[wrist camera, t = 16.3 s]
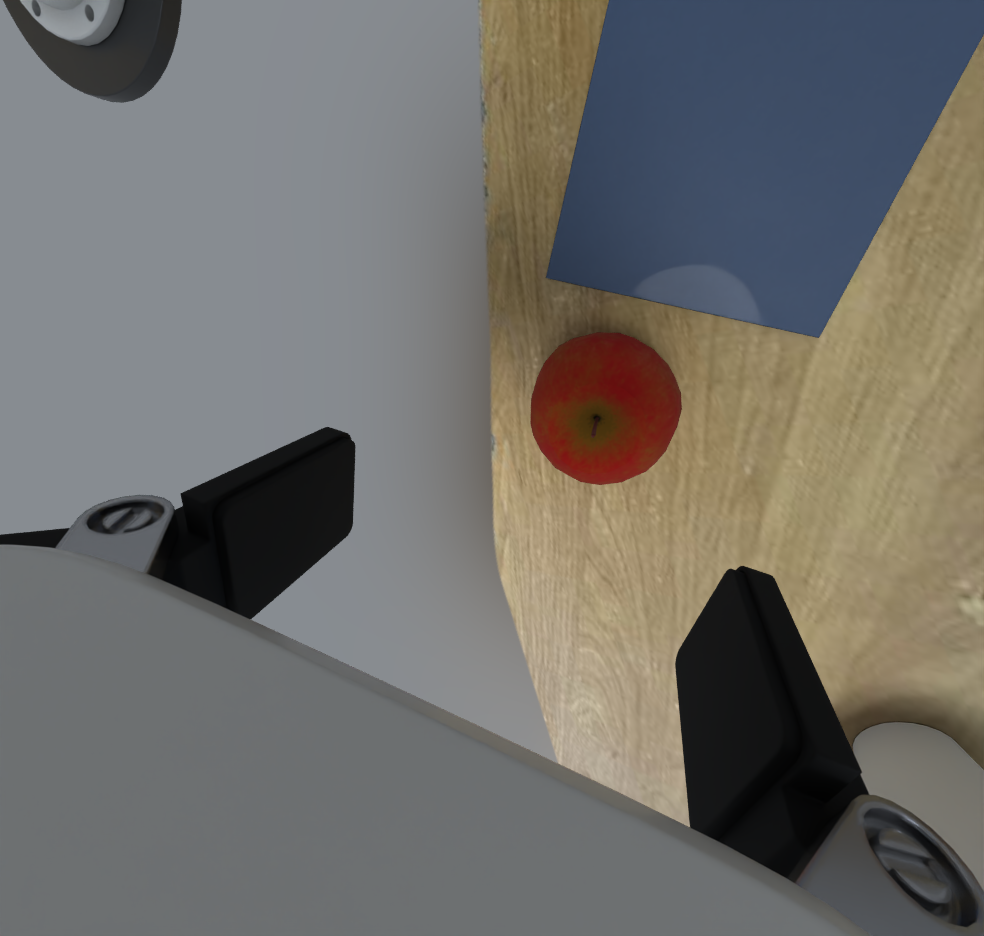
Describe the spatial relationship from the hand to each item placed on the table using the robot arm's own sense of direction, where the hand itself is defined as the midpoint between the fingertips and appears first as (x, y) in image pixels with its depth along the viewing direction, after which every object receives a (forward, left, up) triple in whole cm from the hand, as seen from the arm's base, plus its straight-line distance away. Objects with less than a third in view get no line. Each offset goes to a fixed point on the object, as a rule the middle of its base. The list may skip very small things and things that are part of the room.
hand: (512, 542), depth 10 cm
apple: (+1, -1, -23) cm, 23 cm away
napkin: (+3, +15, -22) cm, 27 cm away
